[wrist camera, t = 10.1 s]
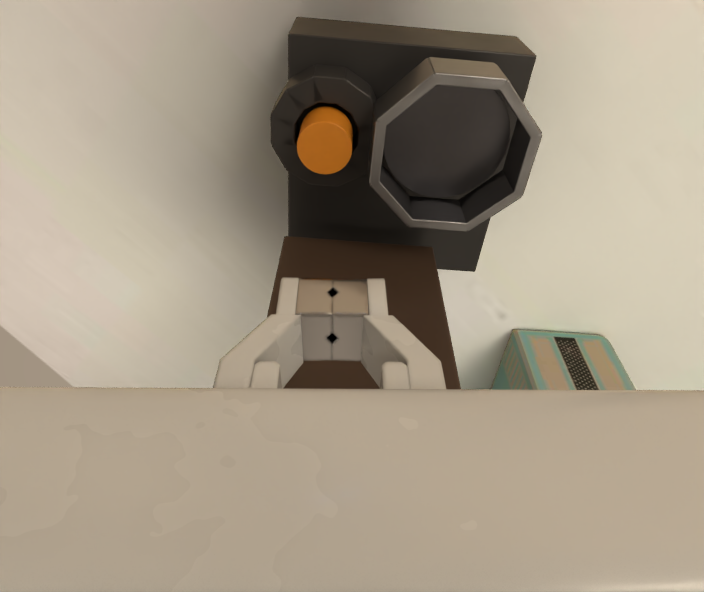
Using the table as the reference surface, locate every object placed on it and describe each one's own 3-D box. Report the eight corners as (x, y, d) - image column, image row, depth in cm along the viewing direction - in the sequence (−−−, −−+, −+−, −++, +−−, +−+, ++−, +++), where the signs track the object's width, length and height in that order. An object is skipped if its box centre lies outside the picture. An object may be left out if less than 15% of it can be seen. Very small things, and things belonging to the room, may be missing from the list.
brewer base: (517, 36, 28) (549, 67, 23) (465, 238, 36) (480, 291, 31) (284, 15, 27) (268, 42, 22) (285, 225, 35) (273, 276, 31)
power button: (354, 108, 25) (354, 124, 23) (350, 159, 26) (349, 176, 25) (301, 103, 24) (296, 119, 23) (300, 155, 26) (296, 172, 25)
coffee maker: (542, 66, 23) (725, 249, 11) (475, 293, 31) (542, 531, 20) (279, 43, 22) (194, 209, 11) (282, 279, 31) (235, 515, 19)
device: (544, 451, 52) (696, 918, 28) (468, 447, 51) (559, 915, 28) (607, 333, 41) (928, 915, 18) (513, 327, 41) (716, 911, 18)
